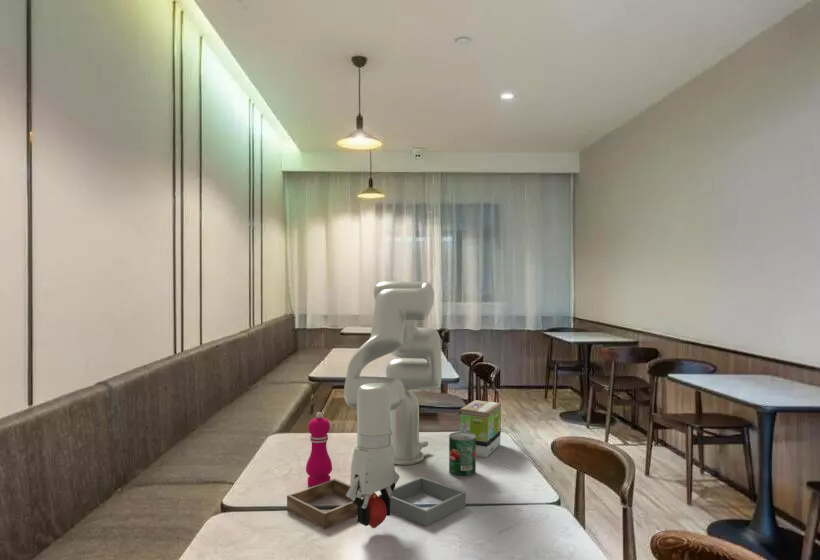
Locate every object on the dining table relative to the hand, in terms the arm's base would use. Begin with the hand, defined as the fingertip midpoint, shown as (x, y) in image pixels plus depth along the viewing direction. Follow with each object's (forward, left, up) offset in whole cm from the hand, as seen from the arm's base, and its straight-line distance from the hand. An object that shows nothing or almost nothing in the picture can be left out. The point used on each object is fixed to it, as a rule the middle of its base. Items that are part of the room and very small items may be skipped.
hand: (373, 518), depth 121 cm
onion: (0, 0, -2) cm, 2 cm away
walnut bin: (-1, -17, -3) cm, 17 cm away
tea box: (-64, -17, -4) cm, 66 cm away
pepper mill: (-9, -32, -4) cm, 33 cm away
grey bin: (-18, -1, -3) cm, 18 cm away
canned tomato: (-43, -8, -4) cm, 44 cm away
